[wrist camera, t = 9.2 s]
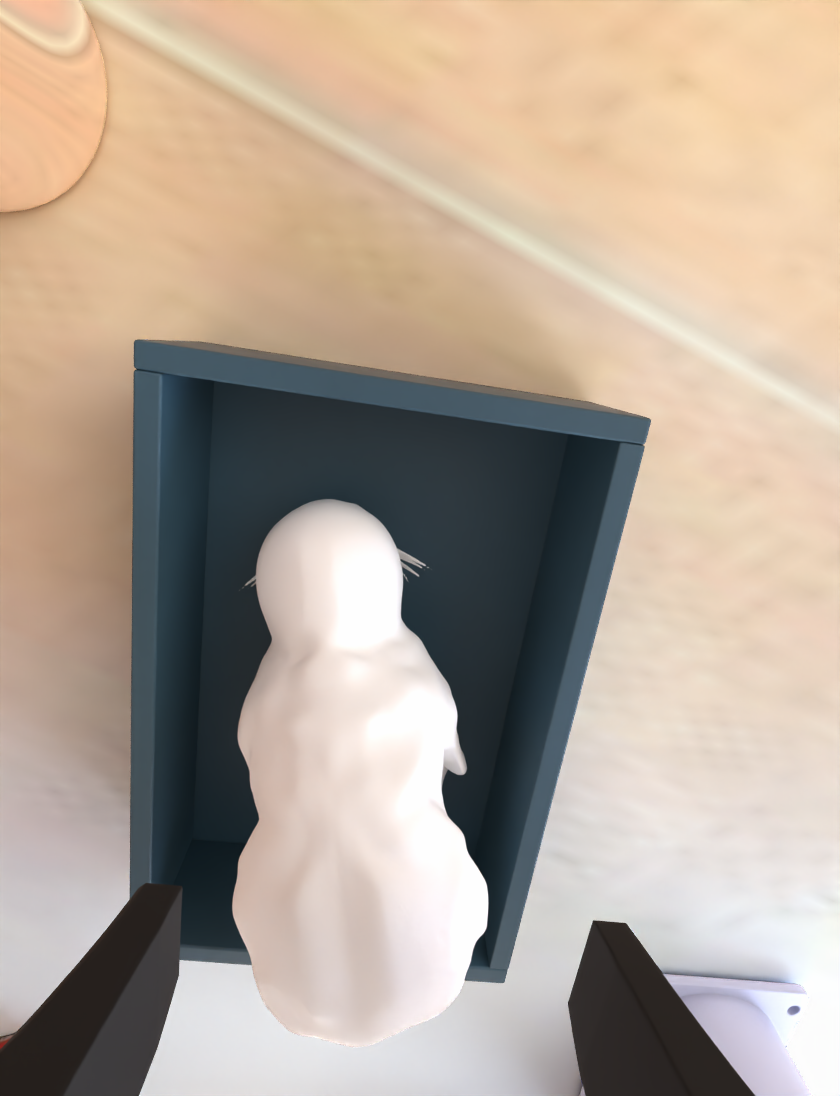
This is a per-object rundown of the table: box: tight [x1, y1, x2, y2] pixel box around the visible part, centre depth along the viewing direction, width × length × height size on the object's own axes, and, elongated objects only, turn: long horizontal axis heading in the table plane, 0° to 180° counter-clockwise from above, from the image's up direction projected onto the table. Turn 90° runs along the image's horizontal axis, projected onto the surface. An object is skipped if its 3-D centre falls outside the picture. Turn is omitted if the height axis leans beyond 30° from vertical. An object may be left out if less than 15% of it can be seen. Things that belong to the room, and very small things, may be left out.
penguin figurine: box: [232, 499, 488, 1047], centre depth 16 cm, size 6×8×12 cm
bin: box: [130, 340, 651, 983], centre depth 18 cm, size 17×11×4 cm, turn 172°
